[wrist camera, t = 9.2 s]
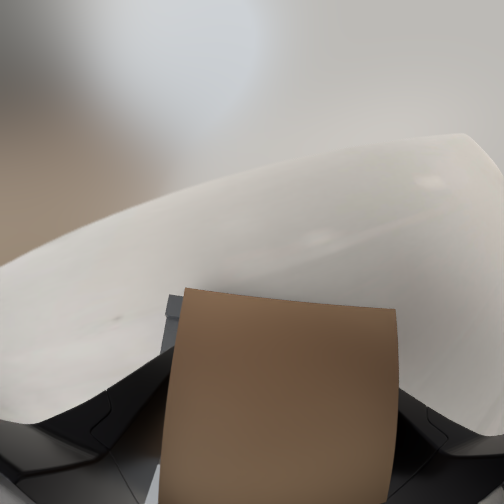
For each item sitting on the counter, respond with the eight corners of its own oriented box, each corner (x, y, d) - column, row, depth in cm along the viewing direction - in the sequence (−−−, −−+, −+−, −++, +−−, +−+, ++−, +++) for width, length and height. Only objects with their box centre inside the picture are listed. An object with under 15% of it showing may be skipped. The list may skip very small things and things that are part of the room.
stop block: (282, 439, 14) (385, 501, 4) (200, 432, 14) (157, 506, 3) (288, 365, 16) (395, 308, 6) (209, 357, 16) (185, 287, 6)
